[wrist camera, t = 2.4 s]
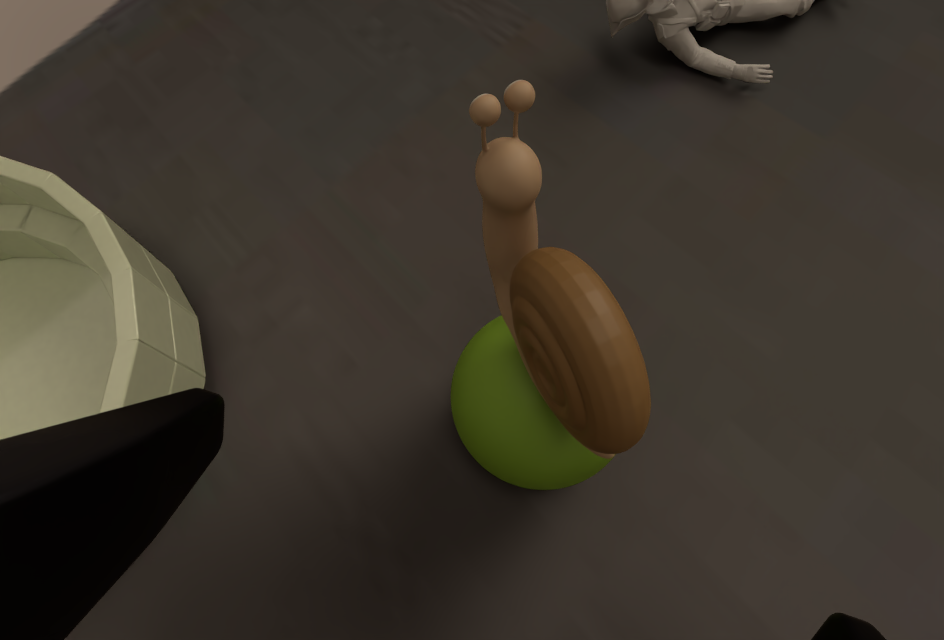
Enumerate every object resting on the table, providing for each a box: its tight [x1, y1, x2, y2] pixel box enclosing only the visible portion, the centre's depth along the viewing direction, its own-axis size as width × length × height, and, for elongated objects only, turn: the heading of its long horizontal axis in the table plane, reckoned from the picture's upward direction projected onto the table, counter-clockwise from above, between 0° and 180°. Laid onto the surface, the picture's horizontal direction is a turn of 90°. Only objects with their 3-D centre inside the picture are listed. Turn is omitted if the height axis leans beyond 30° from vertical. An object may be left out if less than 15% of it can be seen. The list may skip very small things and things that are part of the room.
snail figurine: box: [451, 80, 651, 490], centre depth 14 cm, size 5×6×12 cm
